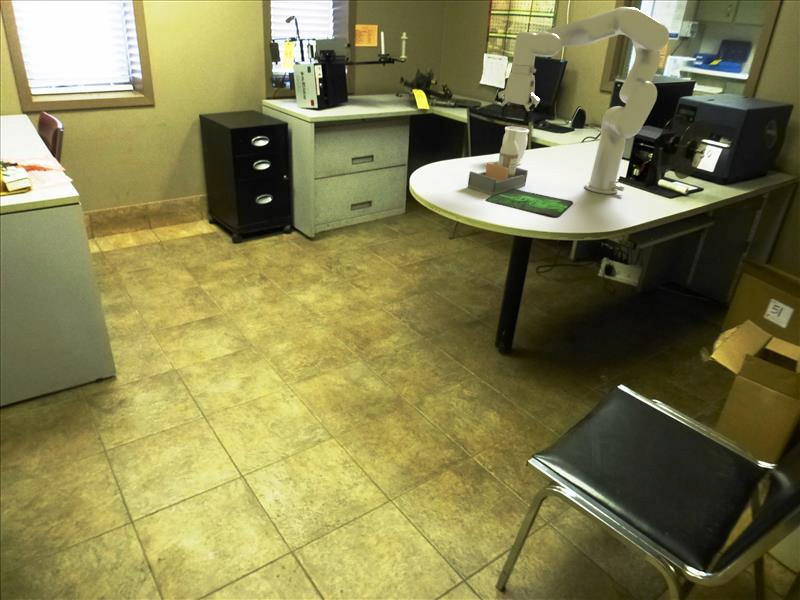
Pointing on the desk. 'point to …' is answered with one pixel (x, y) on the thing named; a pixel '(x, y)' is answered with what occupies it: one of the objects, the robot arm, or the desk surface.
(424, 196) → the desk surface
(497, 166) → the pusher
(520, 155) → the jar
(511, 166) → the bath foam
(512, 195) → the mouse mat
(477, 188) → the grey open box
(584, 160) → the desk surface
